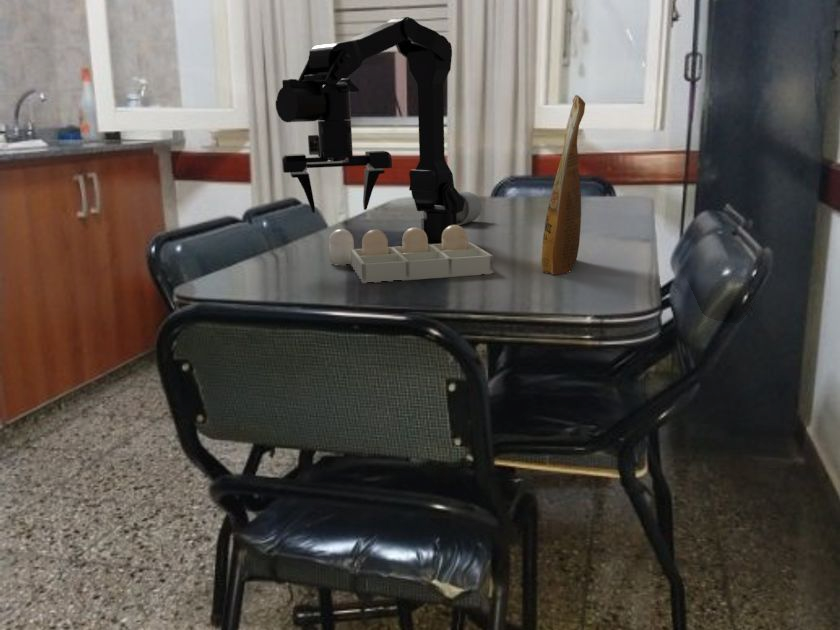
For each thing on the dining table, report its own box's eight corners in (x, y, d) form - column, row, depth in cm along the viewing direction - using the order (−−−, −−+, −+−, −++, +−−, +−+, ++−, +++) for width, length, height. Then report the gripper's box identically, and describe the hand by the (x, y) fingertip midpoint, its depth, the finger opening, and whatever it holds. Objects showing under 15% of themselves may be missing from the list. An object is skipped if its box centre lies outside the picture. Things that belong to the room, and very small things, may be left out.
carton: (469, 258, 142) (469, 220, 140) (493, 273, 128) (493, 232, 126) (351, 266, 138) (349, 227, 136) (362, 283, 124) (360, 240, 122)
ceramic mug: (484, 221, 187) (483, 189, 185) (470, 226, 180) (469, 192, 178) (444, 220, 192) (442, 189, 190) (429, 225, 185) (427, 192, 183)
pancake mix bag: (588, 256, 141) (592, 94, 134) (579, 278, 123) (583, 93, 116) (550, 255, 143) (553, 96, 136) (536, 277, 125) (538, 95, 118)
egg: (353, 260, 144) (351, 226, 142) (356, 264, 140) (354, 230, 138) (329, 261, 143) (327, 228, 141) (331, 266, 139) (329, 231, 137)
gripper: (380, 118, 144) (384, 203, 148) (278, 121, 141) (284, 208, 145) (390, 119, 134) (394, 210, 138) (280, 122, 130) (287, 216, 134)
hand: (339, 211), depth 139 cm, fingers open, 9 cm apart
